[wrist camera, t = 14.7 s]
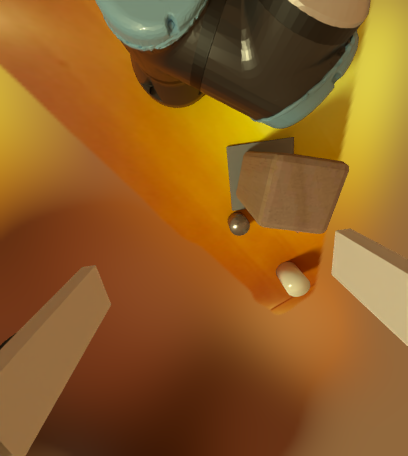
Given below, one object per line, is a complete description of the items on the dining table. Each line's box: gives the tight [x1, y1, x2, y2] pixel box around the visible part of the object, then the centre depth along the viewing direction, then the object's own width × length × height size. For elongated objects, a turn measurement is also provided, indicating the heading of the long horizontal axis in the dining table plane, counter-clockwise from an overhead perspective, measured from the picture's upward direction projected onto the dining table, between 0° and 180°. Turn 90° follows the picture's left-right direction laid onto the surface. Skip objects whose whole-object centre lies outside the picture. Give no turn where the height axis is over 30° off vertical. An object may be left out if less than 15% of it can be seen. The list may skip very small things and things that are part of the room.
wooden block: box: [236, 151, 349, 234], centre depth 36 cm, size 10×10×20 cm
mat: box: [227, 137, 294, 211], centre depth 45 cm, size 14×14×1 cm
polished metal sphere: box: [228, 212, 250, 235], centre depth 47 cm, size 4×4×4 cm
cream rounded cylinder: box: [276, 262, 310, 297], centre depth 51 cm, size 6×6×7 cm
